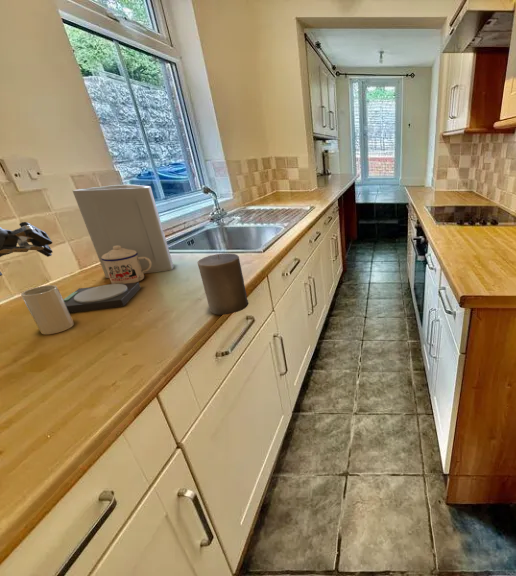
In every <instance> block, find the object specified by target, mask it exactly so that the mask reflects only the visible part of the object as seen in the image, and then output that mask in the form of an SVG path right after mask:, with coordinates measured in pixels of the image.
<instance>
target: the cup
mask: <svg viewBox="0 0 516 576" xmlns="http://www.w3.org/2000/svg"><path fill="white" fill-rule="evenodd" d="M20 296H21V298H22V301H24V304H25V305H26V308H27V309H28V311H29V313H30V315H31V317H32V319H33V321H34V324H35V325H36V328H38V331H39V332H40V333H41V334H42V335H54V334H57V333H61V332H64V331H67V330H70V328H72V327H73V326H74V325H75V323H74V320H73V318H72V315H71V313H69V311H68V309H67V307H66V305H65V302H64V300H63V299H64V298H63V295H62V294H61V291H60V289H59V287H58V286H57V285H55V284H47V285H40V286H36V287H33V288H29V289H26V290H24V291H22V292H21V293H20Z"/></svg>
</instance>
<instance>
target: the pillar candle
mask: <svg viewBox="0 0 516 576" xmlns="http://www.w3.org/2000/svg"><path fill="white" fill-rule="evenodd" d="M197 266H198V270H199V274H200V277H201V281H202V286H203V290H204V294H205V297H206V300H207V305H208V308H209V309H208V310H209V311H210V312H211V313H212V314H214V315H217V316H223V315H231V314H234V313H235V314H236V313H238V312H241V311H243V310H244V309H246V308H247V307H248V306H249V300H248V294H247V291H246V285H245V281H244V280H245V279H244V276H243V270H242V265H241V261H240V257H239V255H238V254H235V253H216V254H211V255H207V256H204V257H202V258H200V259H199V260H198V261H197Z"/></svg>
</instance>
